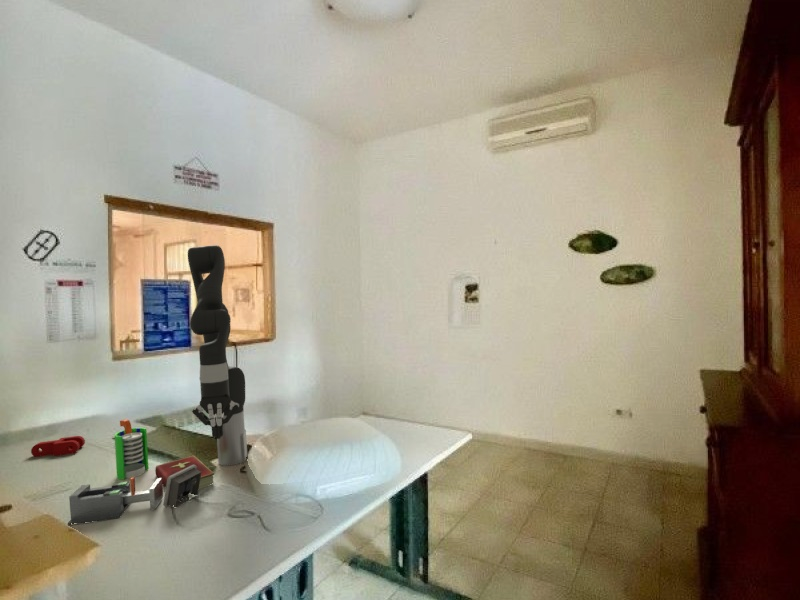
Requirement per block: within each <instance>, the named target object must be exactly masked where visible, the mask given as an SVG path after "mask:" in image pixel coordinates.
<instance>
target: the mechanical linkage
mask: <svg viewBox="0 0 800 600" xmlns="http://www.w3.org/2000/svg"><path fill="white" fill-rule="evenodd" d="M85 443H86V440H85V438H84V437H83V436H81V435H75V436H67V437H60V438H59V439H56V440H55V439H54V440H47V441H41V442H37V443H35V445H33V446H32V447H31V449H30V453H31V455H32V456H33V457H36V458H38V457H45V456H53V457H58V456H59V457H60V456H65V455H66V456H67V455H72V454H73V455H74V454H76V452H78V451H79V450H80V449H81V448H83V447H84V445H85ZM40 449H41V450H40Z"/></svg>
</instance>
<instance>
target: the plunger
mask: <svg viewBox="0 0 800 600" xmlns="http://www.w3.org/2000/svg"><path fill="white" fill-rule="evenodd" d="M135 479H136V478H135V477H131V478H129V483H130V493H123V504H130V503H131V504H136V503H142V502H149V508H150V510H155V509H156V508H157V507H158V505H159V504H160V502H161V501H162V499H163V498H164V489H163V488H164V487H163V484H162V478H156V479H155V481H154V482H153V484H152V485H151V486H150V487H149V489H146V490H145V489H144V490H138V491H136V482H135ZM131 504H130V505H131Z"/></svg>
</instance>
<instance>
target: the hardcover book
mask: <svg viewBox="0 0 800 600" xmlns="http://www.w3.org/2000/svg"><path fill="white" fill-rule="evenodd" d="M191 465H196V466H197V468H196V469H197V470H198V471H200V472H201V478H200V484H199V490H200V489H203V488H206V487H209V486H208V485H210V484H212V483H213V484H214V476H213V475H215V472H214V471H213V470H211V468H209V467H208V466H206V464H204V463H203V462H202V461H201V460H200V459H199V458H198V457H196V456H195V455H190V456H186V457H184V458H180V459H179V458H178V459H176V460H172V461H168V462H164V463H160V464H158V465H156V466H155V477H156V479H158V478H162V486H164V487H163V488H165V489H166V484H167V479H168V477H169V476H171V475H173V474H175V473H177V472H179V471H181V470H183V469H185V468H187V467H189V466H191ZM195 483H196V481H195ZM210 486H211V485H210Z"/></svg>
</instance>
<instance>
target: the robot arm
mask: <svg viewBox="0 0 800 600" xmlns="http://www.w3.org/2000/svg"><path fill="white" fill-rule="evenodd" d="M187 262H188V267H189V271H190V274H191V278H192V283H193V287H194V291H195V296H196V301H197V302H196V306H195V309H194V310H193V312H192V314H191V317H190V323H189V325H190V326H189V327H190V329H191V331H192V333H194V334H195V335H197V336H202V337H203V342H204V343H202V344H200V346H199V349H198V352H199V382H200V386H199V387H200V401H199V404H198V405H197V406H196V407H194V408H193V409H192V411H191V412H192V413H193V414H194V416H195V417H196V418H197V419H198V420H199V421H200V422H201V423H202V424H203V425H204V426H210V427H211V436H212V438H214V440H216V447H217V460H218V464H219V465H220V466H234V465H237V464H241V463H245V462H246V460H247V458H248V444H247V431H246V429H245V428H246V427H245V426H246V425H245V413H244V412H245V411H244V405H245V403H246V376H245V373H244V371H243V369H241V368H240V367H237V366H229V364H228V360H227V344H228V341H229V337H230V334H231V315H230V314H229V313H230V312H229V310H228V307H227V306H226V305H225V304H224V302H223V301H224V300H223V292H222V291H223V283H224V276H225V267H226V260H225V256H224V252H223V249H222V247H221V246H220V245H215V244H211V245H202V246H195V247H194V246H193V247H190V248H189V249H188V250H187ZM206 274H208V275H207V276H206V277H205V278H204V277H203V275H206ZM204 411H205V413H206V414H208V416H209V417H208V416H207V415H206V414H205V413H204ZM246 457H247V458H246Z"/></svg>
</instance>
